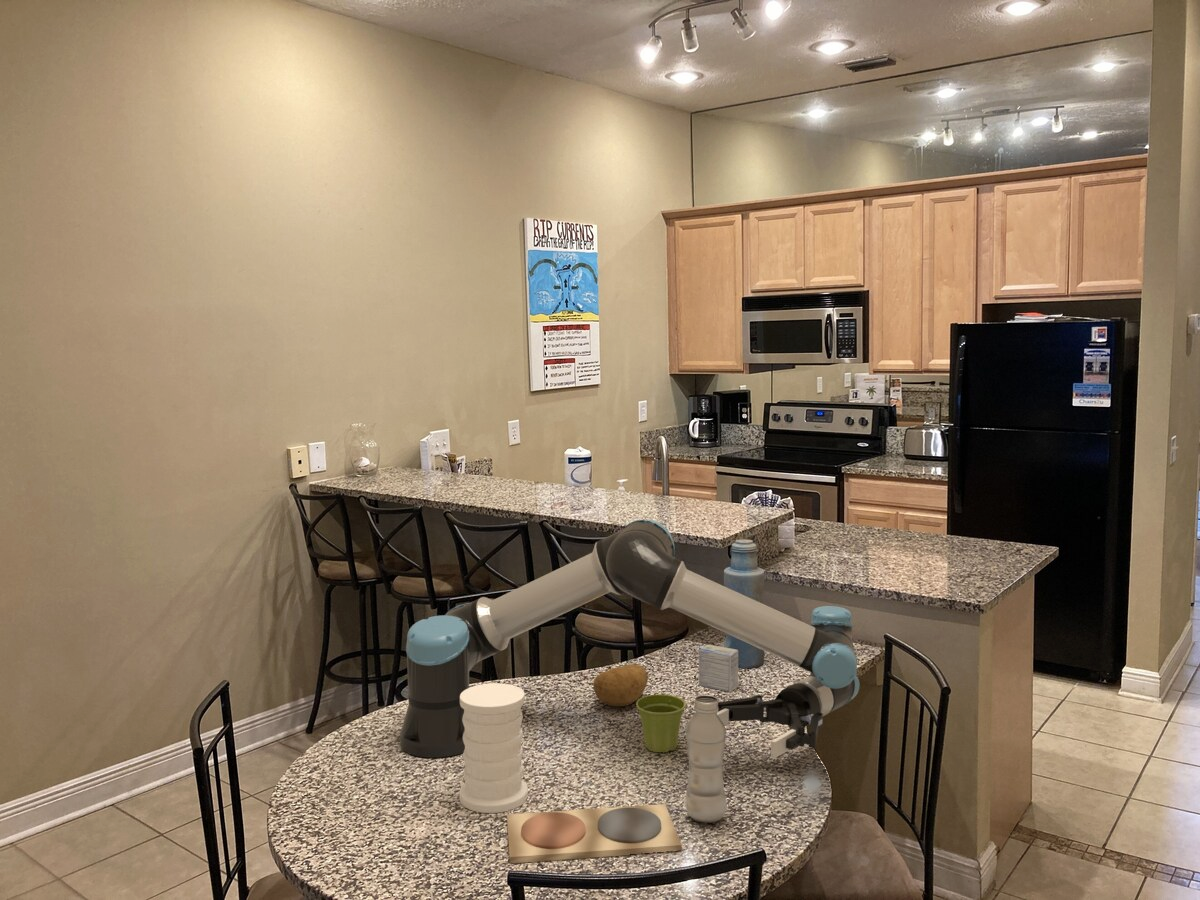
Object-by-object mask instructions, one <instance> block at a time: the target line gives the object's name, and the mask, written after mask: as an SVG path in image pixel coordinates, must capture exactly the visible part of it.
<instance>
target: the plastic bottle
mask: <svg viewBox="0 0 1200 900" xmlns="http://www.w3.org/2000/svg"><path fill="white" fill-rule="evenodd" d="M718 702H719V699H718V698H717V697H716V696H713V695H708V694H702V695H697V696H696V697H695V698H694V706H693V711H694V714H693V715H692V716H691V717H690V719H689V720H688V721H687V723H686V726H685V737H686V738H685V739H686V745H687V752H688V768H689V769H688V782H687V787H686V788H687V789H686V794H685V809H686V812H687V813H688V815H689V817H690V818H691V819H693V820H694V821H696V822H700V823H707V824H708V823H709V824H710V823H711V824H712V823H716V822H719V821H720V820H722V818H723V817H724V816H725V814H726V811H727V804H728V803H727V798H726V797H727V796H726V793H725V787H724V786H725V785H724V776H723V775H724V773H723V769H724V768H723V767H724V766H723V764H724V753H725V752H724V751H725V745H726V739H727V729H726V726H724V724H723V722H722V720H721V719H720V718H719V716H718V715H717V712H718V709H719V708H718Z"/></svg>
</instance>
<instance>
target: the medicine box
mask: <svg viewBox="0 0 1200 900" xmlns="http://www.w3.org/2000/svg"><path fill="white" fill-rule="evenodd" d="M698 686H699V687H703V688H708V689H712V690H713V689H714V690H719V691H723V692H729V693H731V692H733V690H736V688H737V687H739V668H738V650H736V649H731V648H725V647H724V646H718V645H713V644H706V645H704V646H702V647H701V648H699V650H698Z"/></svg>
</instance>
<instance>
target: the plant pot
mask: <svg viewBox="0 0 1200 900" xmlns="http://www.w3.org/2000/svg"><path fill="white" fill-rule="evenodd" d="M635 704H636V705H635V706H636V708H637V710H638V714H639V715H640V721H641V726H642V727H641V728H642V735H643V743H644V747H645V749H648V750H649V751H650V752H652V751H653V752H652V753H657V752H663V753H662V754H665V753H664V752H666V753H668V752H669V751H674V750H676V749H677V747H678V741H679V733H680V726H681V720H682V716H683V714H684V710H685V709H686V704H687V703H686V701H685V700H684V699H682V698H681V697H679V696H676V695H670V694H661V693H659V694H650V695H644V696H642V697H639V698H638V699H637V700H636V701H635Z"/></svg>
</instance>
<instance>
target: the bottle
mask: <svg viewBox="0 0 1200 900" xmlns="http://www.w3.org/2000/svg"><path fill="white" fill-rule="evenodd" d="M757 550H758V548H757V544H756V543H754V541H753V540H752V539H736V540H735V541H734V543H732V544H731V558H730V566H728V567H726V568H725V569H724V570H723V586H725V587H727V588H729V589H731V590H733V591H736V592H738V593H740V594H742V595H744V596H747V597H749V598H751V599H753V600H755V601H758V602H760V603H762V600H763V594H764V590H765V570H764V569H763V568H761V567H759V566H758V558H757ZM725 634H726V635H725V637H724V638H725V639H724V642H723V647H725V648H731V649H736V650H738V669H753V668H759V667H760V666H762V665H763V664H764V661H765V651H764V650H762V649H759V648H757V647H755V646H753V645H751V644H748V643H746V642H744V641H742V640H740V639H738V638H735V637H733V636H731V635H729V634H727V633H725Z"/></svg>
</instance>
